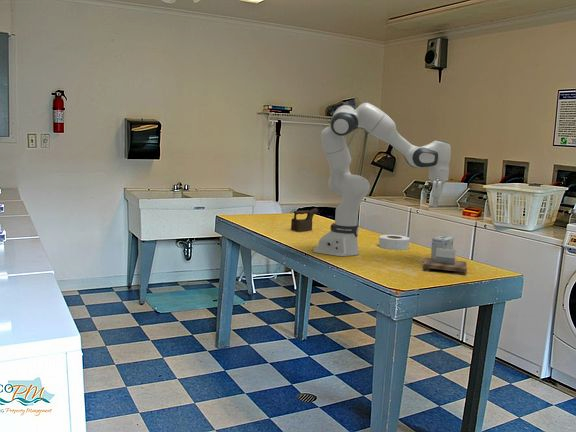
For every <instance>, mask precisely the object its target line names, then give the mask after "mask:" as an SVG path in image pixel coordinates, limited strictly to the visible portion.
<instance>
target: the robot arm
mask: <svg viewBox="0 0 576 432" xmlns="http://www.w3.org/2000/svg"><path fill="white" fill-rule="evenodd" d="M396 126H397V125H396V122H395V121H394V120H393V119H392V118H391V117H390V116H389V115H388V114H387V113H386V112H384V111H383V110H381V109H380V108H379V107H377V106H376V105H373V104H372V103H370V102H362V103H360V104H359V106H357V108H356V107H354V106H353V105H351V104H349V103H343V104H341V105H339V106H338V107H337V108H336V110H335V111H334V112H333V114H332V117H331V119H330V125H328V126H327V127H325V128H324V129H322V131H321V133H320V140H321V145H322V149H323V152H324V154H325V158H326V161H327V163H328V166H329V172H330V173H329V174H330V175H329V178H328V182H327V187H328V189H329V190H330V191H331V192H332V193H334V194H335V195H338V196H342V197H341V201H340V203H339V204H338V205H337V207H336V208H335V212H334V213H335V214H334V215H335V217H334V218H335V219H334V222H333V223H331V224H330V231H329V232H327V233H326V234H324V235H323V236H322V237H320V238H319V239H318V245H317V246H315V247H313V252H314V253H317V254H322V255H323V254H324V255H331V256H335V257H336V256H337V257H348V256H356V255H360V252H359V247H358V236H359V225H358V223H359V221H358V219H359V210H360V208H361V207H360V206H361V203H362V202H363V200H364V198H365V197H366V196H367V195H368V194H369V192H370V189H371V185H370V182H369V180H368V179H367V178H365V177H364V176H362V175H359V174H352V172H350V171H351V170H350V165H351V163H352V156H351V154H350V153H351V152H350V149H349V148H348V144H347V141H346V139H345V136H347V135H349V134H350V133H352V132H354V131H355V130H357V129H358V128H359V127H360V128H362V129H364V130H365V131H367V132H368V133H369V134H371V135H372V136H374V137H375V138H377V139H378V140H380V141H383V142H385V143H387V144H389V145H390V146H391V147H393V149H395V150H396V151H398V152H399V153H400V154H401V155H402V156H403V158H404V160H405V161H406V164H408V165H409V167H412V168H416V169H418V168H421V169H425V168H428V167H429V168H428V180H430V184H432V188H431V198H432V207H433V208H437V207H438V205H439V199H440V198H441V195H442V192H443V188H444V185H445V184H446V182H447V181H449V176H450V175H449V174H450V167H449V166H450V162H451V156H452V154H451V153H452V148H451V147H452V146H451V144H450V143H448V142H447V141H443V140H437V139H435V140H433V141H432V142H430V143H428V144H425V145H423V146H422V145H421V146H418V145H414V144H412V143H411V142H409V141H408V140H407V139H405V138H404V137H403V136H402V135H401V134H400V133H399V132H398V129H397V127H396Z"/></svg>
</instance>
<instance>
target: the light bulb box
mask: <svg viewBox="0 0 576 432" xmlns="http://www.w3.org/2000/svg"><path fill="white" fill-rule="evenodd" d="M454 239H455V238H454V237H452V236H445V235H439V236H435V237H432V239H431V250H430V251H431V253H430V258H434V259H436V249H437V248H445V249H453V248H454Z"/></svg>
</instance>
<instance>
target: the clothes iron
mask: <svg viewBox="0 0 576 432" xmlns="http://www.w3.org/2000/svg"><path fill="white" fill-rule="evenodd" d="M318 213H319V211H318V208H317V207H314V208H312V209H310V210H309V209H307V210H294V211H293V214H294V215H293V218H291V224H290V229H291V231H292V232H293V231H294V232H297V233H303V232H311V231H312V230H313V218H314V215H317V214H318ZM305 214H307V215H306V218H303V219H300V218H299V219H298V218H297V215H305Z"/></svg>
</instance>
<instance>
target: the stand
mask: <svg viewBox="0 0 576 432" xmlns="http://www.w3.org/2000/svg"><path fill="white" fill-rule="evenodd" d="M423 269H424V272H429V271H430V270H431V269H432V270H433V269H434V270H443V271H452V272H459V275H462V276H465V275H466V273H467V272H468V271H467V270H468V267H467V261H465V260H464V261H463V260H455V264H454V265H449V264H440V263H435V259H434V258H431V257H424V261H423Z"/></svg>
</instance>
